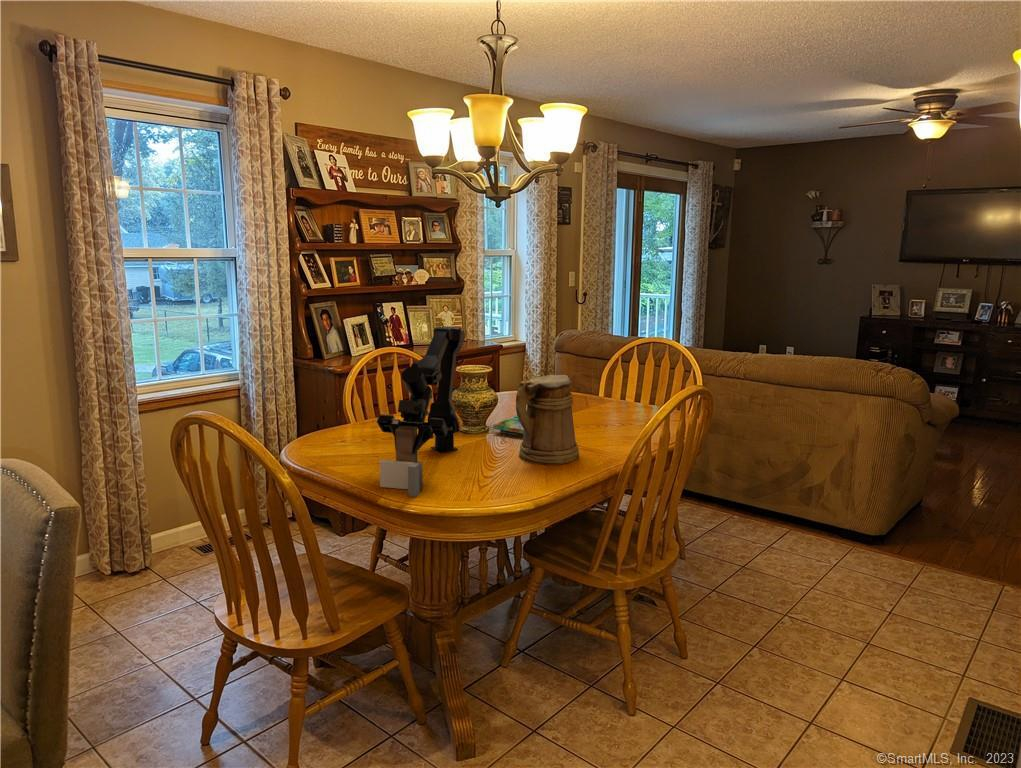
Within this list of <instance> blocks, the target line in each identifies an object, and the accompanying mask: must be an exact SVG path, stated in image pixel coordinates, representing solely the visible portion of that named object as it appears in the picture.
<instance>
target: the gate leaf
mask: <svg viewBox="0 0 1021 768" xmlns="http://www.w3.org/2000/svg"><path fill="white" fill-rule="evenodd" d="M411 463H418V464H419V484H420V491H423V485H424V483H423V462H422V461H417V462H403V461H396V460H391V459H380V461H379V487H380V488H387V489H388V488H389V489H390V488H391V489H400V490H408V466H409V465H410V464H411Z"/></svg>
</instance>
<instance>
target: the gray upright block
mask: <svg viewBox="0 0 1021 768" xmlns="http://www.w3.org/2000/svg"><path fill="white" fill-rule="evenodd" d="M420 491H421V490H420V484H419V464H418V463H411V464H410V465H409V466H408V489H407V497H412V498H413V497H414V498H416V497H417V496H419V494H420V493H421V492H420Z"/></svg>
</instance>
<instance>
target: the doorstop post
mask: <svg viewBox="0 0 1021 768" xmlns="http://www.w3.org/2000/svg"><path fill="white" fill-rule="evenodd" d="M417 435H418V429H417V427H413V426H400V427H399V428H397V429H396V451H395V461H403V462H418V451H417V452H416V453H415V454H413V453H412V452H413V447H414V444H415V441H416V438H417Z"/></svg>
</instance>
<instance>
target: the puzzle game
mask: <svg viewBox="0 0 1021 768" xmlns="http://www.w3.org/2000/svg"><path fill="white" fill-rule="evenodd" d="M492 427H493V429H494V430H499V431H500V433H502V434H506V435H513V436H520V437H523V436H524V429H523V427H522V425H521V423H520V421H519V419H518V416H517V414H516V415H514V416H511V417H509V418H507V419H504V420H501V421H499V422H497V423H495V424H493V426H492Z"/></svg>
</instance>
